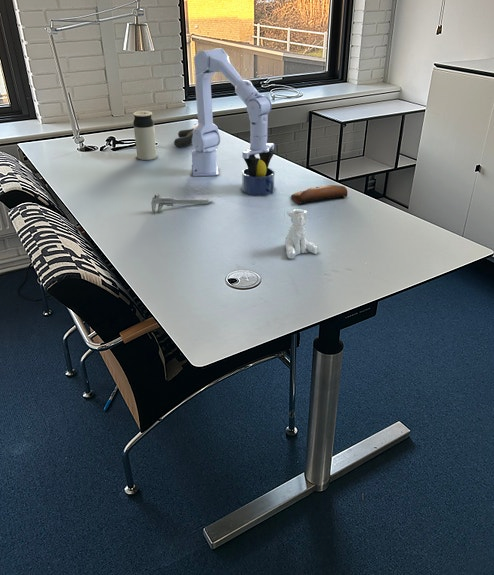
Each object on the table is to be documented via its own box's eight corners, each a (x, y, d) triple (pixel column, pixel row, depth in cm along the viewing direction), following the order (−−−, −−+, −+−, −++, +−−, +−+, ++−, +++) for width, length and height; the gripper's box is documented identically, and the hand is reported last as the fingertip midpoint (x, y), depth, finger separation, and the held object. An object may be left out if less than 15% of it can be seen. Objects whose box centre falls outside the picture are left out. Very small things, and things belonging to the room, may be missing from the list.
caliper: (153, 214, 168) (151, 195, 165) (152, 213, 169) (150, 194, 166) (212, 203, 176) (211, 185, 172) (210, 202, 177) (210, 184, 173)
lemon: (268, 179, 186) (269, 157, 182) (262, 184, 182) (262, 162, 177) (254, 177, 188) (254, 155, 184) (247, 182, 184) (248, 159, 179)
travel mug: (148, 161, 213) (143, 116, 203) (133, 158, 216) (128, 113, 207) (160, 156, 218) (156, 112, 209) (146, 153, 222) (141, 109, 212)
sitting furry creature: (288, 260, 142) (290, 219, 136) (274, 246, 149) (275, 207, 142) (319, 253, 145) (322, 213, 139) (304, 240, 152) (306, 202, 146)
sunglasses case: (335, 188, 186) (341, 175, 180) (343, 204, 183) (349, 191, 177) (289, 195, 180) (294, 182, 175) (296, 211, 177) (301, 199, 172)
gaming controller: (179, 153, 229) (198, 142, 226) (171, 142, 227) (190, 130, 224) (184, 142, 243) (202, 131, 241) (177, 132, 241) (195, 120, 238)
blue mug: (236, 187, 188) (236, 170, 184) (262, 181, 193) (262, 164, 190) (259, 200, 178) (259, 182, 174) (285, 193, 183) (286, 176, 179)
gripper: (253, 141, 169) (253, 181, 176) (281, 132, 179) (280, 171, 186) (237, 137, 173) (237, 177, 180) (265, 128, 183) (264, 166, 190)
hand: (258, 173), depth 183 cm, fingers closed on lemon, 5 cm apart
